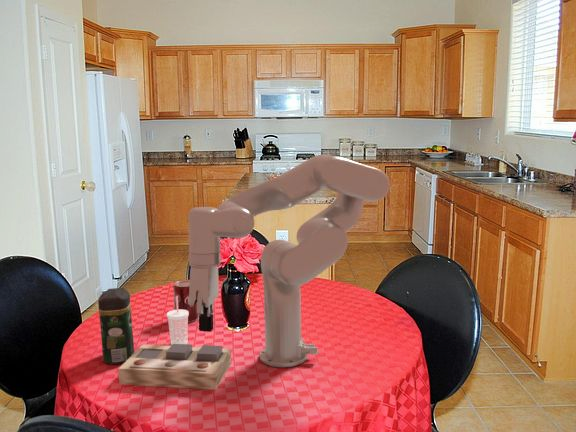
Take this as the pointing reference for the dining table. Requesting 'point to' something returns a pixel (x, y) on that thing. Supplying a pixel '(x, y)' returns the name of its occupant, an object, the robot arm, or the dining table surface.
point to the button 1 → (149, 354)
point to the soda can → (184, 299)
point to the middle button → (179, 352)
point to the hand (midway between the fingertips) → (206, 330)
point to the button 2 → (209, 353)
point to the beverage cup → (178, 325)
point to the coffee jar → (116, 325)
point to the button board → (174, 370)
